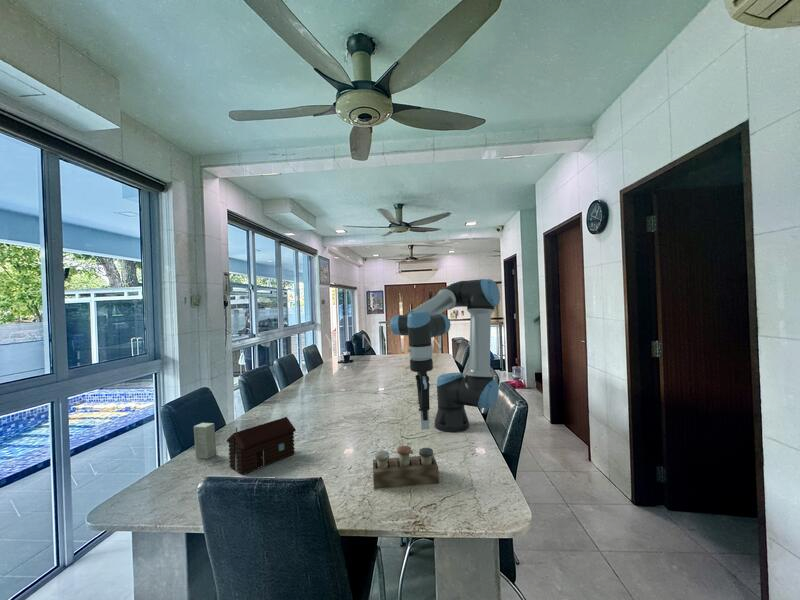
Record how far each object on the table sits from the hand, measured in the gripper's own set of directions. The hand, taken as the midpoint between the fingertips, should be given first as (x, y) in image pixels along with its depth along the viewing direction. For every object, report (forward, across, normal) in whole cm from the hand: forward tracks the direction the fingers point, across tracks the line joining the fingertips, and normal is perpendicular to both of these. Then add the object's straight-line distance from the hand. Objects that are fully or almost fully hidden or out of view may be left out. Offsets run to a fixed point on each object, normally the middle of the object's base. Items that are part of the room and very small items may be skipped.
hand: (425, 428), depth 121 cm
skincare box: (+13, -26, -82) cm, 87 cm away
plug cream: (+13, +5, -15) cm, 20 cm away
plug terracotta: (+12, +5, -8) cm, 15 cm away
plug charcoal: (+13, +5, -1) cm, 14 cm away
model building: (+13, -18, -58) cm, 62 cm away
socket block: (+13, +5, -8) cm, 17 cm away
